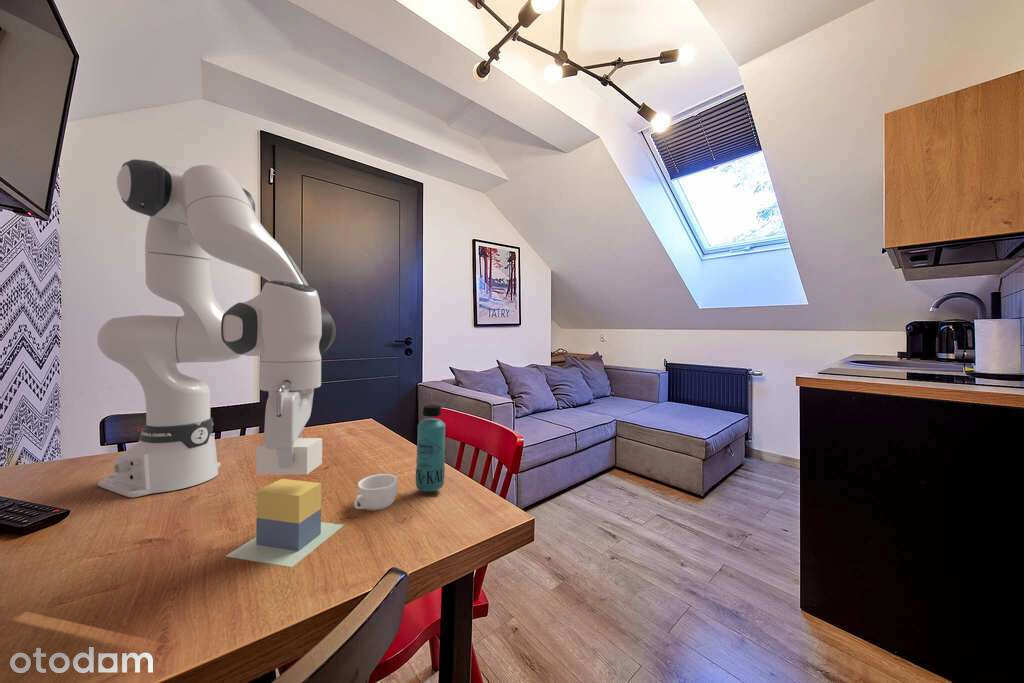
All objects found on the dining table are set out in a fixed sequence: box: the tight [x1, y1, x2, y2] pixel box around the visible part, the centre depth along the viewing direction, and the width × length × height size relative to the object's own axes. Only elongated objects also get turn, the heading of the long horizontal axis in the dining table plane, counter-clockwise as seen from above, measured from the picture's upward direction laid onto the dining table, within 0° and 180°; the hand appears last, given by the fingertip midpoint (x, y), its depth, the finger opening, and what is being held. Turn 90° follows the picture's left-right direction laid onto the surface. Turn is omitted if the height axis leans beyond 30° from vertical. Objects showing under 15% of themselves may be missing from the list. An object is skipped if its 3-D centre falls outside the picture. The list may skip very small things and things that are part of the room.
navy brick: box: [255, 508, 322, 551], centre depth 60 cm, size 8×5×4 cm, turn 80°
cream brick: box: [255, 437, 323, 476], centre depth 59 cm, size 8×5×4 cm, turn 93°
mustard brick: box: [256, 478, 322, 524], centre depth 60 cm, size 8×5×4 cm, turn 80°
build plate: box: [225, 521, 345, 568], centre depth 60 cm, size 12×12×1 cm
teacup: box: [353, 473, 398, 511], centre depth 72 cm, size 10×8×5 cm
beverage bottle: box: [415, 404, 446, 492], centre depth 81 cm, size 6×7×20 cm
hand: (290, 459), depth 59 cm, fingers closed on cream brick, 6 cm apart
